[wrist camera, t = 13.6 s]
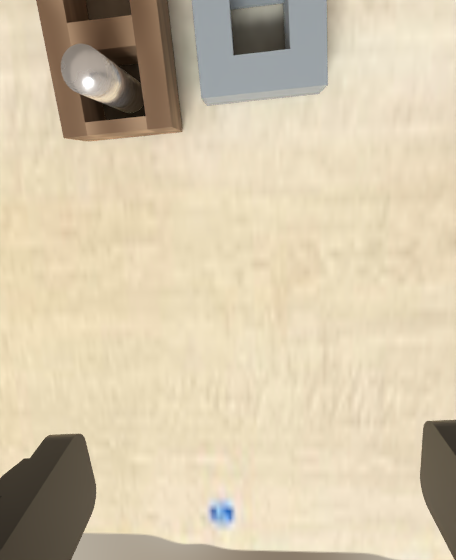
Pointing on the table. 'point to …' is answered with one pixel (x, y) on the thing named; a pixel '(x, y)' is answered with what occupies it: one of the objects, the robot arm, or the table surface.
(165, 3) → the walnut rack
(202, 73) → the socket block
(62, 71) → the steel rod
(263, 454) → the table surface
